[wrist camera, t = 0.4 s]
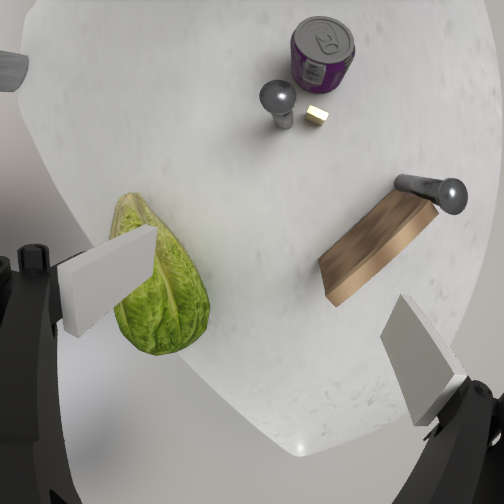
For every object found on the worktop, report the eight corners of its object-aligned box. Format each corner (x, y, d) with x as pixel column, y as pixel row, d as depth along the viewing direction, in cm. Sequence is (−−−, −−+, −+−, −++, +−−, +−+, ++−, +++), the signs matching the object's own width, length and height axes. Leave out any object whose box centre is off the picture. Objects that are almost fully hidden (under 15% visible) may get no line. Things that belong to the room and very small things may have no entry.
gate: (392, 188, 35) (430, 200, 23) (404, 203, 35) (443, 221, 24) (317, 259, 40) (325, 296, 28) (330, 272, 40) (342, 313, 29)
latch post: (278, 107, 35) (268, 75, 21) (299, 116, 35) (302, 88, 21) (269, 126, 36) (253, 105, 22) (290, 135, 36) (287, 118, 22)
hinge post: (398, 167, 35) (449, 171, 21) (417, 179, 35) (472, 190, 21) (388, 188, 36) (435, 203, 22) (407, 200, 36) (458, 221, 22)
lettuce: (194, 177, 41) (128, 177, 28) (229, 329, 44) (181, 374, 32) (129, 201, 47) (68, 209, 34) (162, 327, 50) (111, 361, 38)
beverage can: (350, 84, 32) (371, 55, 21) (307, 101, 34) (311, 76, 23) (326, 45, 31) (335, 6, 19) (282, 62, 32) (277, 25, 21)
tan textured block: (308, 112, 34) (310, 105, 30) (324, 120, 34) (328, 113, 30) (305, 118, 35) (307, 112, 30) (321, 126, 35) (325, 120, 30)
